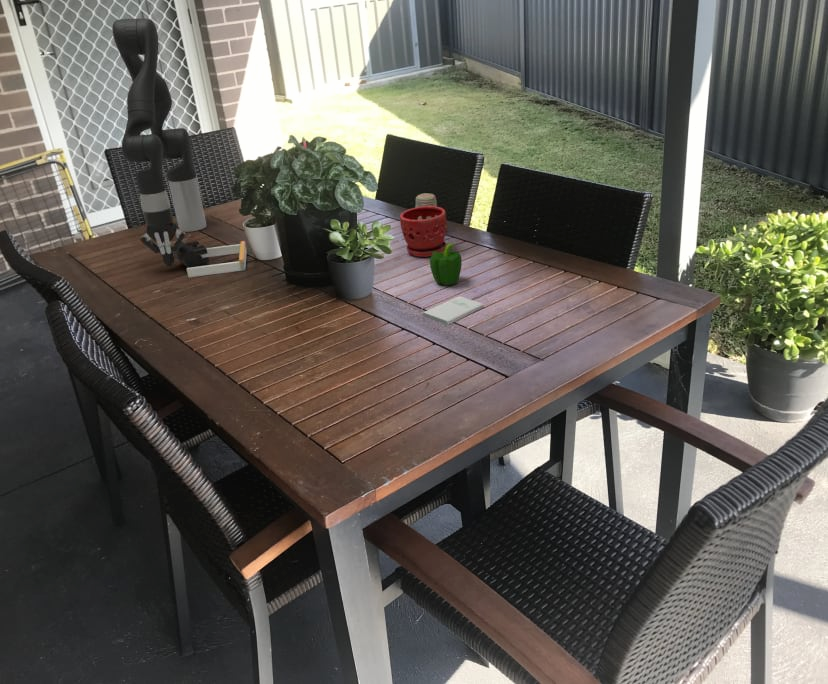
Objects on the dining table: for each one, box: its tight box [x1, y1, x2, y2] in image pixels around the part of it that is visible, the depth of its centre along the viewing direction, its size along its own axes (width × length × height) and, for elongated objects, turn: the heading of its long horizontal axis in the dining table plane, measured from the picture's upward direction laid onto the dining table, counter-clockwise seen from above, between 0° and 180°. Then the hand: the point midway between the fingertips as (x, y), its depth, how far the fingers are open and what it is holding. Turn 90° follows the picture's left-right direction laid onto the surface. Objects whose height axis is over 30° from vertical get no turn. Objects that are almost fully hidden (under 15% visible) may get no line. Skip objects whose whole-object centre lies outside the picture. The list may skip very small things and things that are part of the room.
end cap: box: [173, 240, 210, 268], centre depth 213 cm, size 10×7×7 cm
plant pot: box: [399, 206, 447, 258], centre depth 209 cm, size 13×13×12 cm
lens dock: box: [186, 240, 248, 278], centre depth 215 cm, size 17×16×3 cm
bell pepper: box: [429, 243, 463, 286], centre depth 187 cm, size 8×8×10 cm
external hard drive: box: [422, 295, 484, 326], centre depth 173 cm, size 2×8×12 cm
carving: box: [414, 192, 438, 220], centre depth 225 cm, size 6×8×12 cm
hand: (169, 264), depth 213 cm, fingers closed
